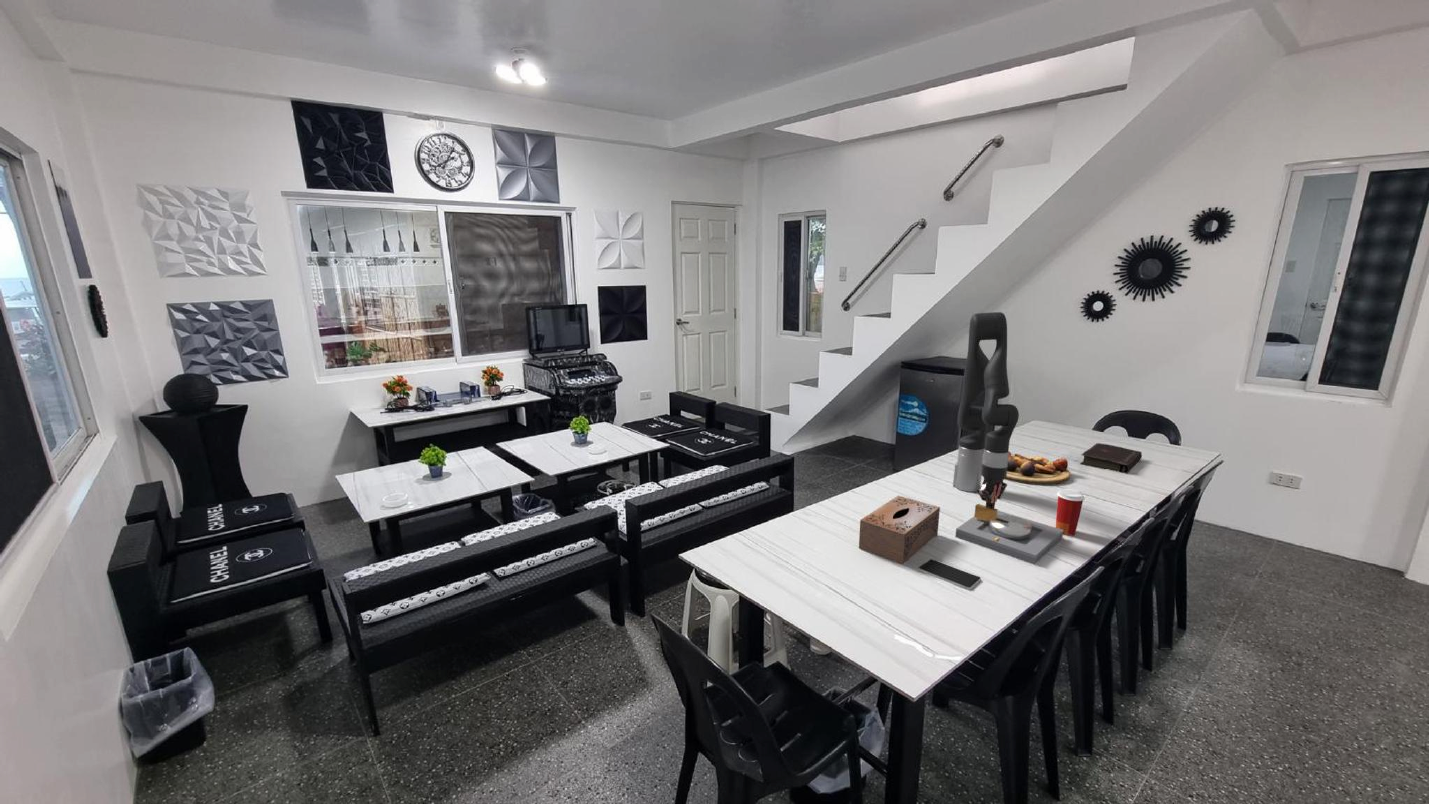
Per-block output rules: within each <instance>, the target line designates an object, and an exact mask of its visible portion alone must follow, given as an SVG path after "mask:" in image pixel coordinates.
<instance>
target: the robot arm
mask: <svg viewBox="0 0 1429 804" xmlns="http://www.w3.org/2000/svg"><path fill="white" fill-rule="evenodd" d="M981 341H995V342H996V343H995V349H994V351H993V354H992V356H991V358H990V359H989V358H988V357H987V356H986V354H985V353H984V351H983V349H982V348H981V346H980V345H981V344H980V342H981ZM967 348H968V349H967V356H966V361H965V367H964V372H963V373H964V374H963V380H962V381H963V382H962V383H963V384H962V392H961V393H962V394H961V398H960V403H959V408H958V413H957V427H958V428H959V429H962V430H968V431H976V432H974V433H972V434H968V435H964V436H962V437H960V439H959V441H958V443H959V444H958V453H957V461H956V463H955V464H954V470H953V471H954V472H953V480H952V481H953V482H952V486H953V487H955V488H956V489H958V490H959V491H964V492H977V493H978V495H979V497H980V499H981V500H982V501H984V502H985V506H987V507H991V508H994V509H996V508H995V507H996V503H997V501H998V500H1001V497H1002V496H1003V495H1004V492H1005V490H1006V488H1007V487H1008V484H1007V482H1006V483H1005V482H1004V480H1006V479H1005V478H1006V475H1007V466H1008V450H1009V449H1010V448H1009V447H1010V440H1011V438H1012V435H1013V433H1014V430H1015V428H1016V426H1017V423H1018V421H1019V418H1020V417H1019V416H1020V413H1019V409H1018V407H1017V406H1016V405H1014V404H1010V403H1009V404H1008V403H1007V404H1006V403H1005V404H1004V403H1001V404H1000V403H999V404H998V403H996V401H997V400H1001V399H1005V398H1007V397H1009V395H1010V387H1009V385H1010V384H1009V379H1008V378H1009V377H1008V376H1009V375H1008V369H1007V366H1008V365H1007V363H1008V361H1007V359H1008V322H1007V318H1006V315H1005V313H1004V312H1000V311H999V312H998V311H995V312H994V311H993V312H979V313H973V315H972V316H971V318H970V321H969V330H968V346H967ZM983 393H985V394H984V403H983V406H977V405H976V406H975V405H972V404H973V402H975V400H976V399H977V398H979V397H981V395H982V394H983ZM989 426H990V427H992V426H993V427H995V426H997V427H1000V428H999V429H996V430H992V431H989V432H988V427H989ZM982 477H983V481H982ZM981 485H982V486H981Z"/></svg>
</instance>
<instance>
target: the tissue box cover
mask: <svg viewBox="0 0 1429 804" xmlns="http://www.w3.org/2000/svg"><path fill="white" fill-rule="evenodd" d="M940 511H941V507H940V506H937V505H934V504H929V503H926V502H923V501H919V500H916V499H913V498H909V497H905V496H901V495H897V496H895V497H893V498H892V499H891V500H889V501H888V502H886V503H884V504H883V505H881V506H880V507H878V508H877V509H875V510H873V511H871V513H869V514H867V515H866V516H864V517H863V518H861V519H860V521H859V535H858V536H859V538H858V549H860V550H862V551H865V552H867V553H870V554H874V555H876V556H878V557H882V558H884V559H887V560H888V561H892V562H895V563H897V564H901V565H903V564H904V563H905V562H907V561H908V560H909V559H911V558H912V557H913V556H914V555H915V554H916V553H918V552H919V551H920V550H921V549H923V547H924V546H926V545H928V543H930V542H931V541H932V540H933V539H934V538H935V537H936V536H938V534H939V533H938V532H939V521H940Z"/></svg>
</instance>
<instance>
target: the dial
mask: <svg viewBox="0 0 1429 804" xmlns="http://www.w3.org/2000/svg"><path fill="white" fill-rule="evenodd" d="M998 511H999V509H997V508H991V507H987V506H986V505H983V504H980V503H977V504H976V505H975V508H974V516H973V517H974V518H978V519H981V520H984V521H988V522H990V523H989V530H990V531H991V532H992V533H993V534H995V535H997V536H999V537H1002V538H1005V539H1010V540H1026V539H1028V538H1030V535H1031V524H1030V523H1028V522H1027V521H1025V520H1023V519H1021V518H1018V517H1019V516H1018V517H1014V516H1008V515H997V513H998Z"/></svg>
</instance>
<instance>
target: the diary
mask: <svg viewBox="0 0 1429 804" xmlns="http://www.w3.org/2000/svg"><path fill="white" fill-rule="evenodd" d="M1142 454H1143V453H1142V451H1139V450H1133V449H1129V448H1126V447H1121V446H1116V445H1112V444H1107V443H1099V442H1098V443H1095V444H1093V445H1092V446H1091V447H1090V448H1088V449H1087V450H1085V451H1084V452H1083V453H1081V456H1083V460H1082V461H1081V462H1080V463H1079V465H1082V466H1087V467H1092V468H1096V469H1101V470H1105V469H1109V470H1108V471H1114V472H1118V471H1119V472H1120V473H1123V472H1125V471H1126V473H1125V474H1126V475H1128V474H1129V472H1130V471H1131V470H1132V469H1133V468H1134V467H1135V466H1136V465H1137V463H1138V461H1139V460H1140V459H1141V460H1142V458H1143V455H1142ZM1141 460H1140V461H1141ZM1140 461H1139V462H1140Z"/></svg>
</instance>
